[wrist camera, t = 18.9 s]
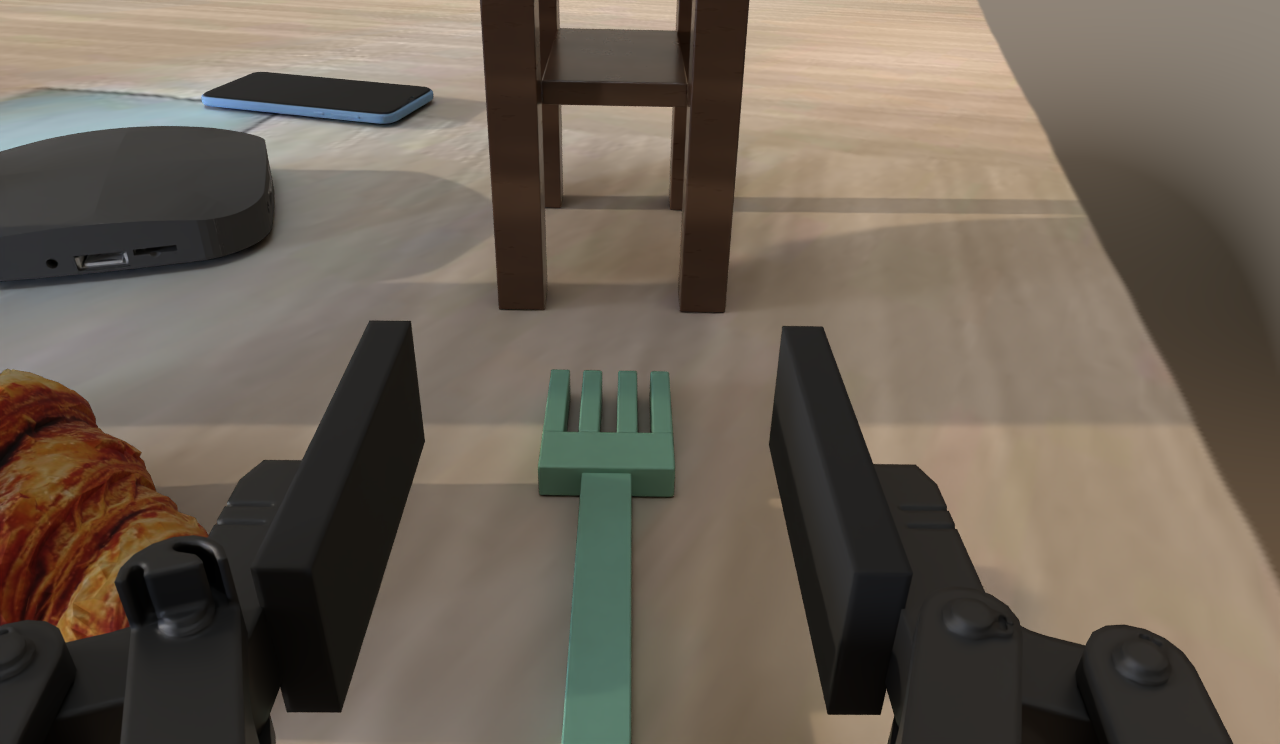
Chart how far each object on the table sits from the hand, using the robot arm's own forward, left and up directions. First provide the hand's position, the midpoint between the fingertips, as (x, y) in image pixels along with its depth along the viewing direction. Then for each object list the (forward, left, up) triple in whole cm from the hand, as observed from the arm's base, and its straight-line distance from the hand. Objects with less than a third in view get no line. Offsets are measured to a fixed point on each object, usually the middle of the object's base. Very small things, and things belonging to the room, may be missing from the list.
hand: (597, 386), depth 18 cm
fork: (-3, +3, -10) cm, 11 cm away
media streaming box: (-40, +1, -10) cm, 41 cm away
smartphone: (-54, +18, -10) cm, 58 cm away
